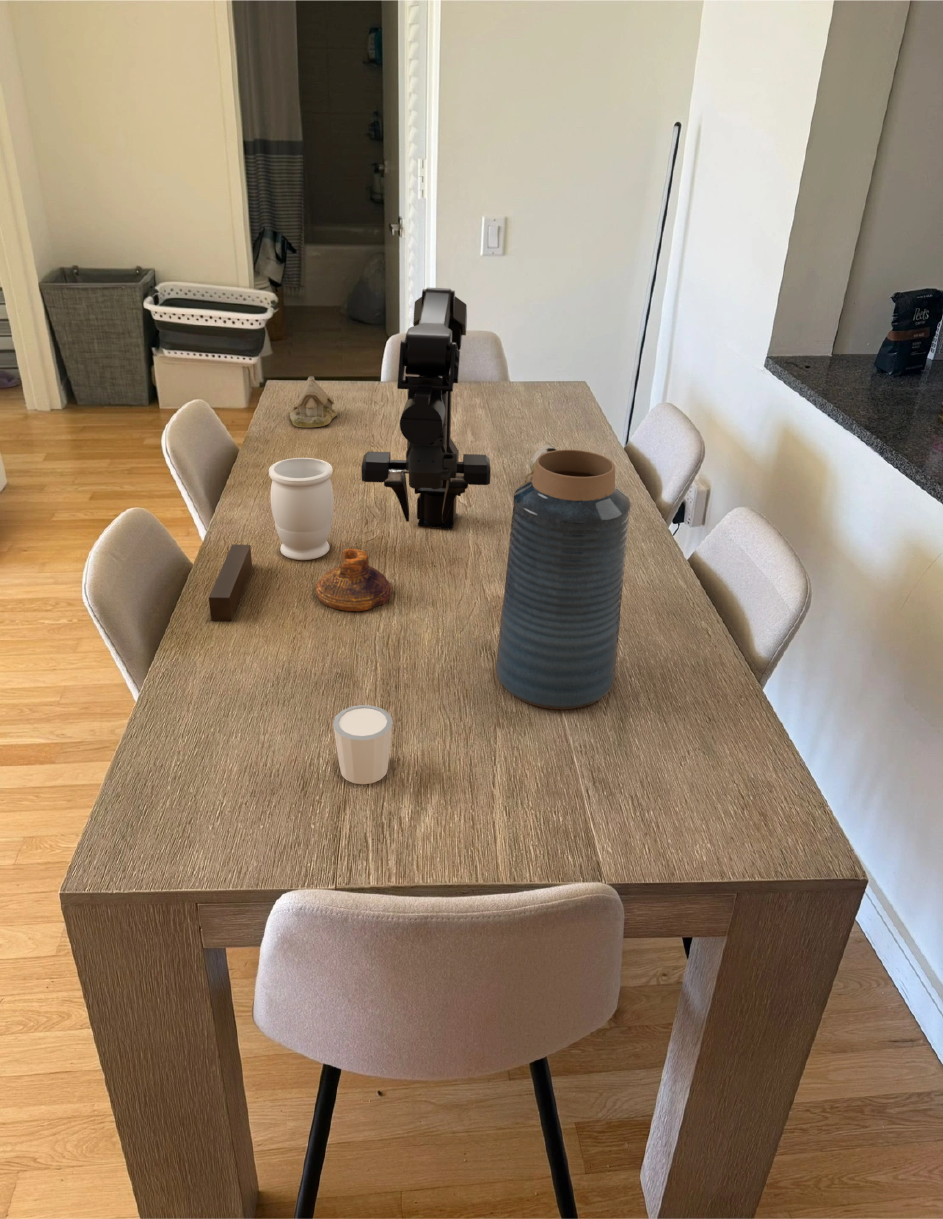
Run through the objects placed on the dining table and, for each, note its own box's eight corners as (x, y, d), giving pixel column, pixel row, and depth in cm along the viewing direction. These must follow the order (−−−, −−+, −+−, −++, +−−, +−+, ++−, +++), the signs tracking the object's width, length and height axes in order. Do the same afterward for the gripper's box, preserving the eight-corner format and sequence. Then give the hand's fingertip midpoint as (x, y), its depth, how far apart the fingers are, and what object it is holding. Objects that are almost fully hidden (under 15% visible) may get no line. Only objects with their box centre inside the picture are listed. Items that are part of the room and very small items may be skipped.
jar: (323, 567, 157) (319, 483, 150) (264, 559, 159) (258, 476, 151) (343, 541, 166) (341, 460, 159) (287, 534, 168) (282, 453, 160)
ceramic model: (290, 409, 229) (288, 368, 224) (337, 409, 230) (336, 368, 225) (287, 428, 217) (285, 385, 212) (336, 428, 218) (335, 386, 213)
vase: (534, 725, 121) (553, 497, 106) (474, 662, 134) (484, 449, 118) (637, 695, 128) (670, 476, 113) (572, 638, 141) (593, 434, 125)
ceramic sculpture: (574, 435, 193) (583, 465, 181) (570, 473, 198) (579, 506, 185) (522, 434, 193) (528, 464, 180) (519, 473, 198) (525, 505, 185)
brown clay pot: (380, 617, 144) (379, 574, 140) (305, 607, 146) (302, 564, 142) (400, 582, 154) (400, 542, 150) (329, 573, 156) (328, 533, 152)
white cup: (336, 751, 115) (334, 704, 112) (392, 750, 116) (392, 703, 112) (333, 788, 109) (331, 740, 106) (393, 787, 110) (393, 738, 106)
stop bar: (252, 566, 157) (250, 544, 155) (231, 621, 141) (229, 597, 139) (234, 566, 157) (232, 544, 155) (211, 620, 141) (208, 597, 139)
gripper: (357, 438, 129) (359, 542, 136) (494, 442, 129) (489, 545, 137) (363, 413, 138) (365, 511, 146) (491, 416, 139) (486, 514, 147)
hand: (425, 521), depth 144 cm, fingers open, 5 cm apart
